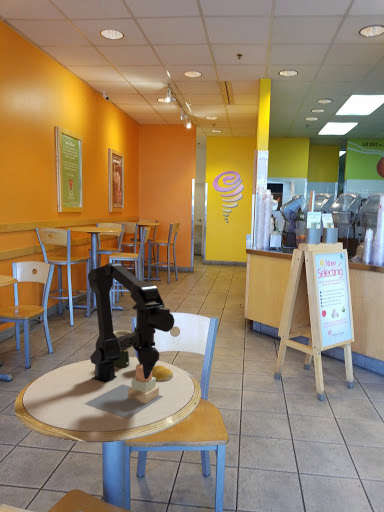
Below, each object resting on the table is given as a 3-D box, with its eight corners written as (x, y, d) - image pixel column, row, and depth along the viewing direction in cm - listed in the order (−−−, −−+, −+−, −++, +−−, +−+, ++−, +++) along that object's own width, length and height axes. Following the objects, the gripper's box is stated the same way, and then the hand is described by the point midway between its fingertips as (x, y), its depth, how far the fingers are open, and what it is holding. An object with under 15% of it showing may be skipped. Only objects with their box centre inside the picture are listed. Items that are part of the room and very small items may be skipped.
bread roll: (159, 384, 142) (160, 373, 141) (145, 376, 149) (145, 365, 148) (178, 379, 147) (178, 368, 147) (163, 371, 154) (163, 361, 154)
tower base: (127, 398, 128) (128, 389, 128) (141, 390, 134) (141, 381, 134) (145, 403, 125) (146, 394, 125) (158, 395, 131) (159, 386, 131)
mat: (84, 404, 124) (84, 403, 124) (122, 385, 139) (122, 384, 139) (127, 420, 115) (127, 418, 115) (163, 397, 131) (163, 396, 131)
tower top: (131, 388, 128) (131, 379, 128) (142, 383, 133) (142, 374, 133) (145, 392, 126) (145, 383, 125) (155, 386, 130) (156, 377, 130)
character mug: (119, 371, 152) (119, 337, 151) (104, 367, 156) (105, 334, 155) (137, 363, 161) (138, 331, 160) (123, 359, 165) (124, 328, 164)
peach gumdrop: (132, 379, 128) (132, 367, 128) (142, 374, 133) (142, 362, 132) (145, 383, 126) (145, 370, 125) (155, 378, 130) (155, 365, 130)
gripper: (117, 318, 135) (116, 364, 136) (122, 334, 117) (121, 386, 118) (150, 317, 138) (149, 362, 139) (160, 332, 120) (158, 384, 121)
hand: (144, 373), depth 129 cm, fingers open, 9 cm apart
